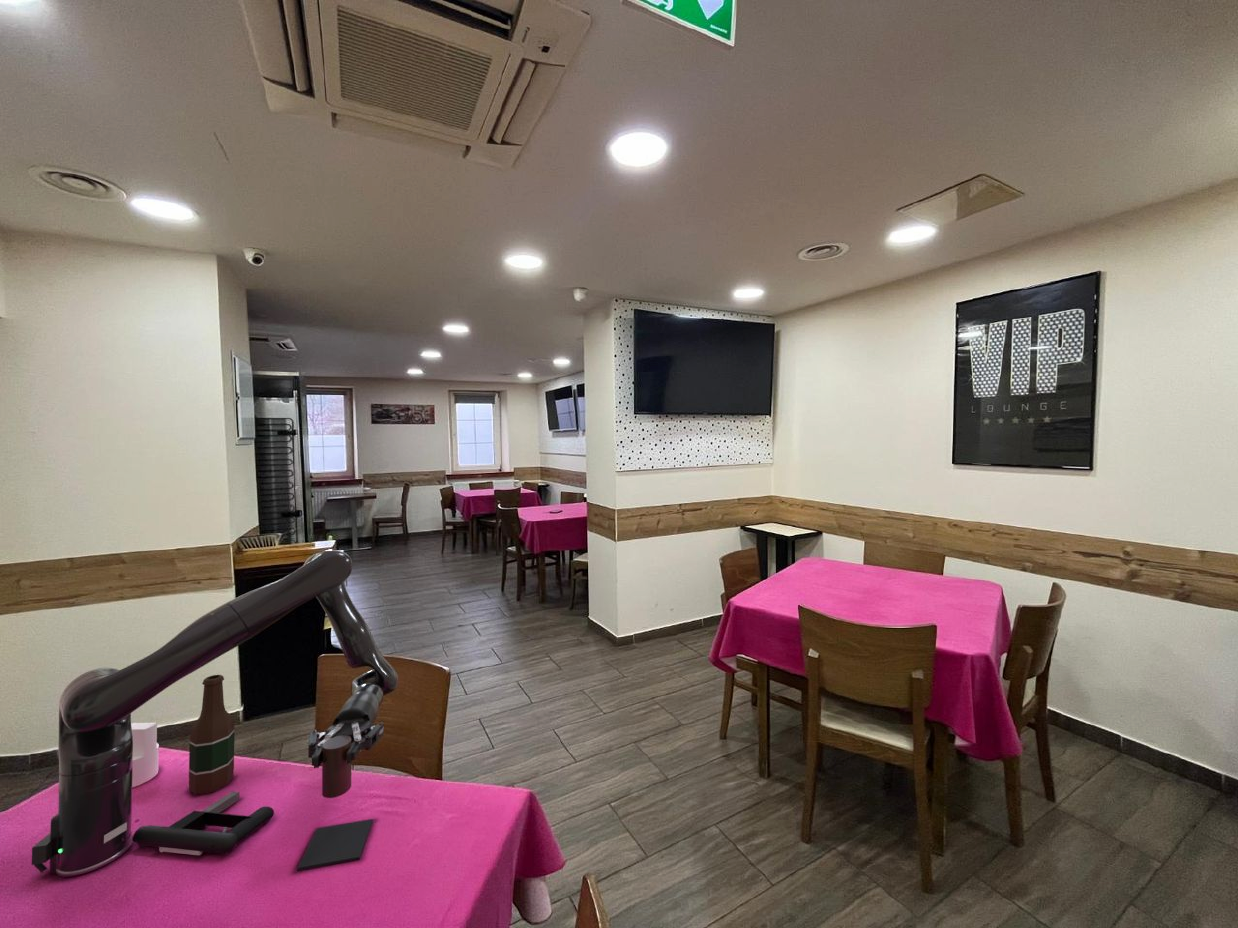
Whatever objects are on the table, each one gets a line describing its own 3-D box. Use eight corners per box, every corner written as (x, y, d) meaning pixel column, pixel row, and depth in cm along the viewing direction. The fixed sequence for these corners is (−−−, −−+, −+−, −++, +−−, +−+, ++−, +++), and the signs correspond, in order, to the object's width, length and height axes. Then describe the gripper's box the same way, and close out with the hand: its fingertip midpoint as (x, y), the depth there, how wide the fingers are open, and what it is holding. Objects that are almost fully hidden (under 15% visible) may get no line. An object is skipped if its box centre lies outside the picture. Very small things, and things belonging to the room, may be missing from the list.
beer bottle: (233, 769, 115) (234, 667, 115) (234, 785, 109) (235, 677, 109) (189, 782, 110) (191, 675, 110) (187, 800, 104) (189, 687, 104)
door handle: (208, 785, 105) (124, 835, 89) (292, 792, 103) (221, 845, 87) (207, 801, 105) (123, 854, 89) (291, 809, 102) (220, 865, 86)
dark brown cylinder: (318, 800, 89) (318, 750, 89) (326, 783, 94) (326, 737, 94) (347, 795, 91) (347, 746, 91) (354, 779, 95) (354, 733, 95)
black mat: (297, 870, 85) (297, 867, 85) (317, 830, 95) (317, 827, 95) (359, 859, 88) (359, 856, 88) (373, 821, 97) (372, 818, 97)
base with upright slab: (169, 766, 116) (169, 716, 116) (131, 791, 107) (132, 736, 107) (130, 767, 116) (131, 716, 116) (90, 792, 107) (91, 736, 107)
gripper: (320, 702, 104) (288, 745, 88) (392, 694, 108) (374, 734, 92) (320, 737, 104) (288, 787, 88) (392, 728, 108) (374, 774, 91)
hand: (332, 760), depth 90 cm, fingers closed on dark brown cylinder, 4 cm apart
